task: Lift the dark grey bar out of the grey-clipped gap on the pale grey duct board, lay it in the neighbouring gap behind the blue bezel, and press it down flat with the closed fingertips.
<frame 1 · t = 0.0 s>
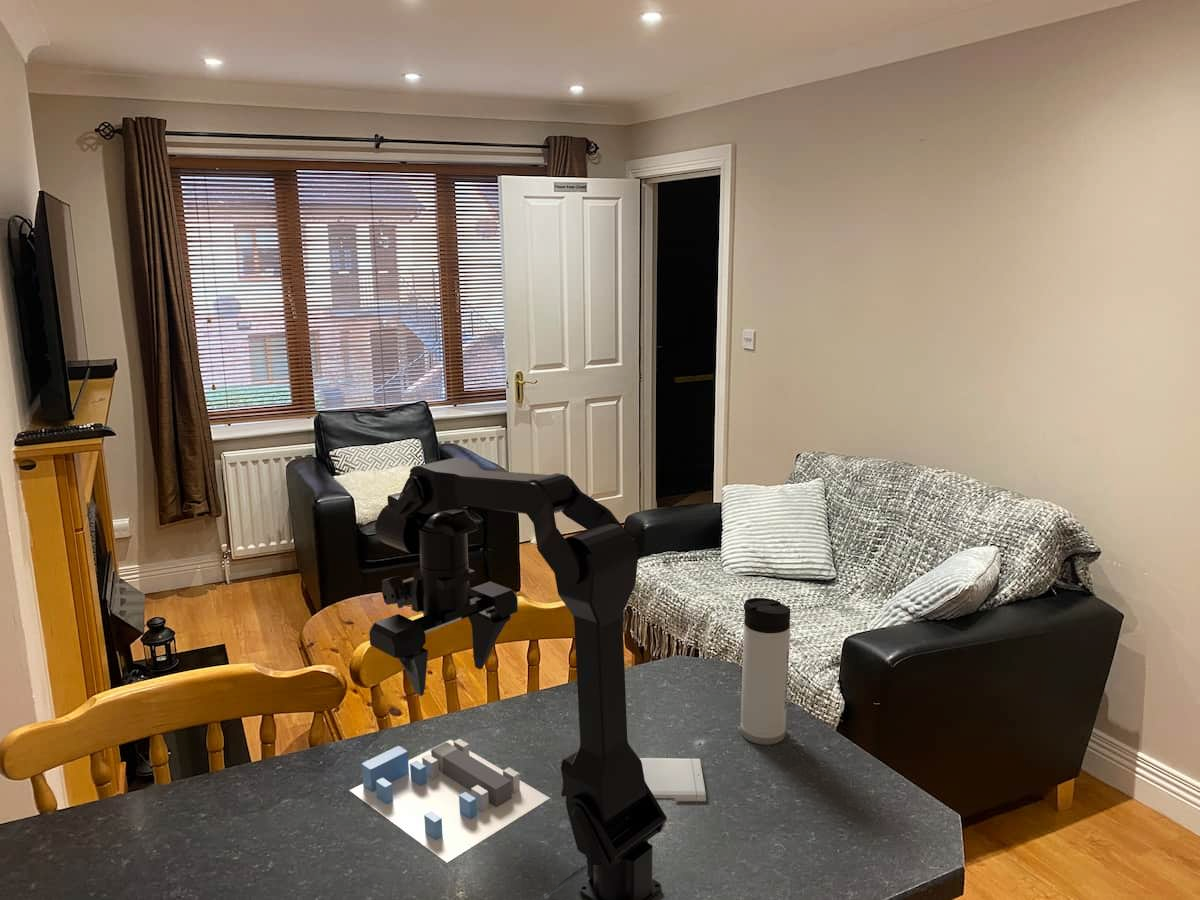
hand: (450, 681, 109), 15 cm above the table, tool pointing down, fingers open, 9 cm apart
travel mug: (761, 735, 124), on the table
duct board: (449, 796, 110), on the table
hard drive: (654, 786, 114), on the table
dark grey bar: (470, 781, 113), resting on duct board
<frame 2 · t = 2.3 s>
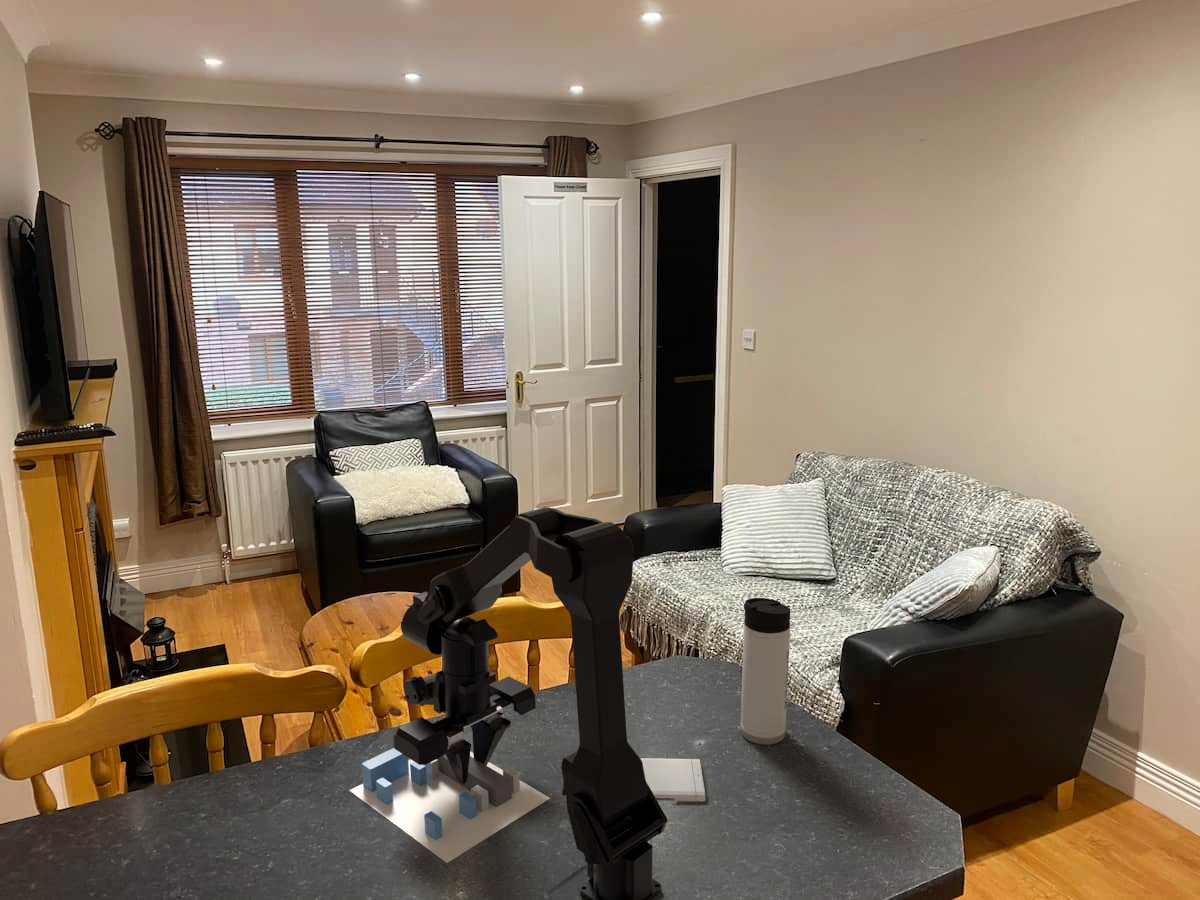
hand: (470, 777, 113), 1 cm above the table, tool pointing down, fingers closed on dark grey bar, 2 cm apart
dark grey bar: (470, 781, 113), resting on duct board, touching gripper
everything else where it was.
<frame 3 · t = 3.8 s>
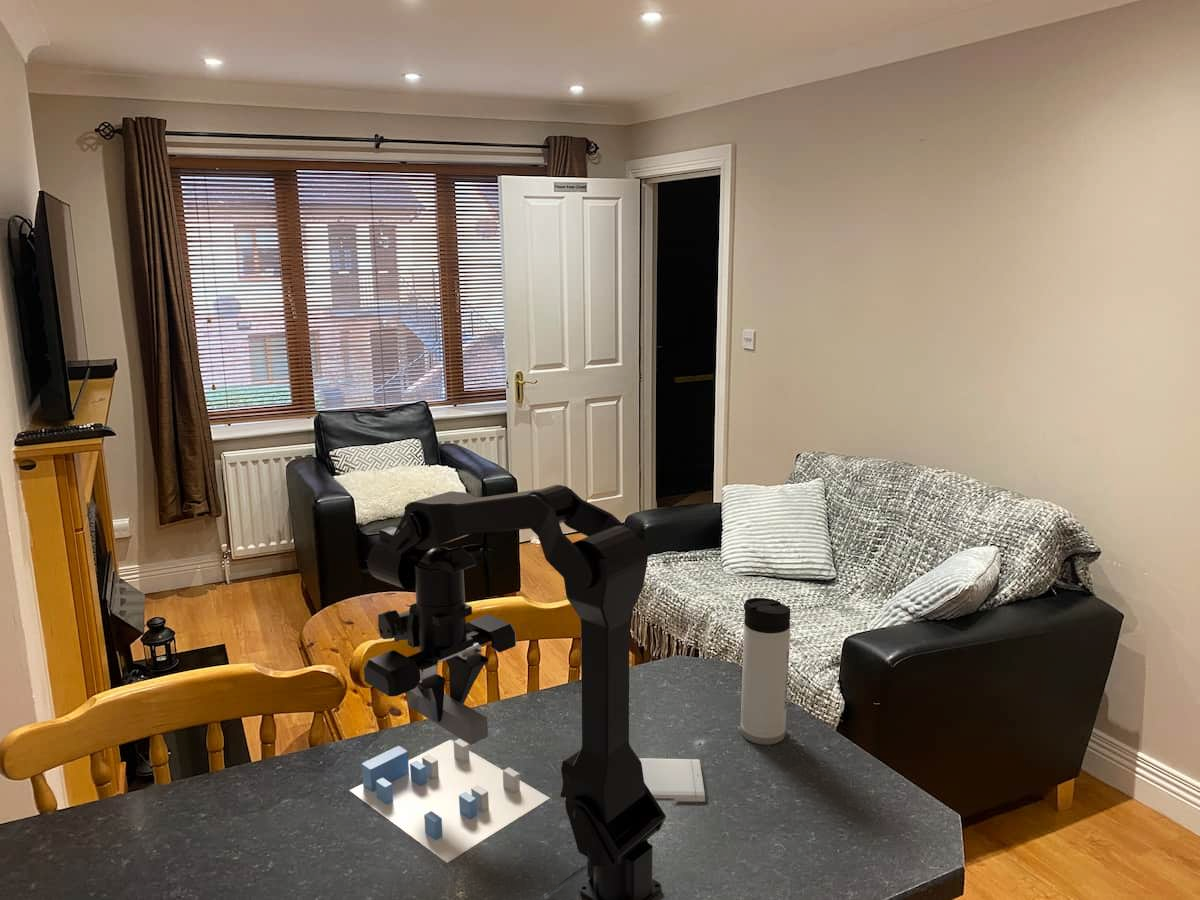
hand: (446, 716, 108), 11 cm above the table, tool pointing down, fingers closed on dark grey bar, 2 cm apart
dark grey bar: (446, 720, 108), point 10 cm above the table, touching gripper
everything else where it was.
when the fingers open (2 cm above the table, at t = 5.4 s): dark grey bar drops 1 cm, resting on duct board.
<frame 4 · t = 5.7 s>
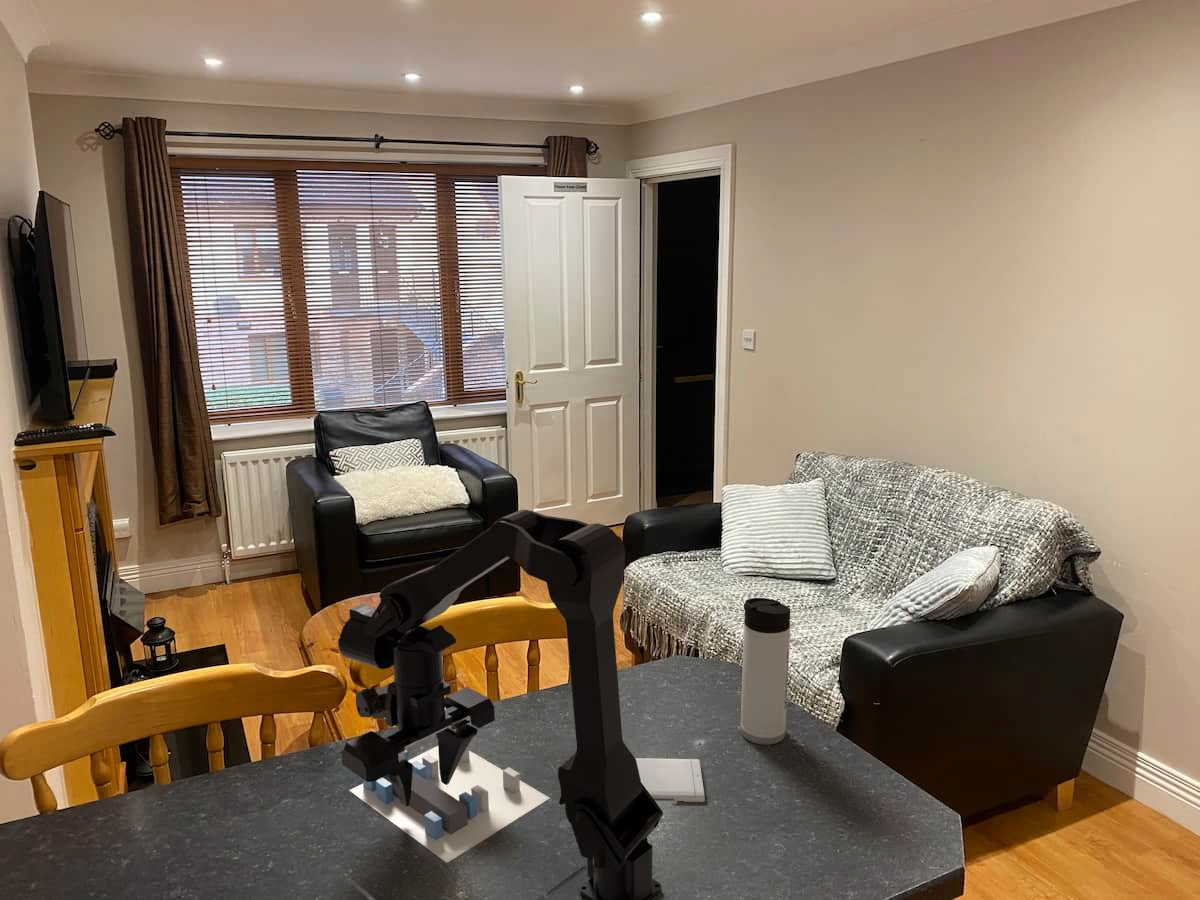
hand: (425, 793, 107), 2 cm above the table, tool pointing down, fingers open, 6 cm apart
dark grey bar: (425, 806, 108), resting on duct board
everything else where it was.
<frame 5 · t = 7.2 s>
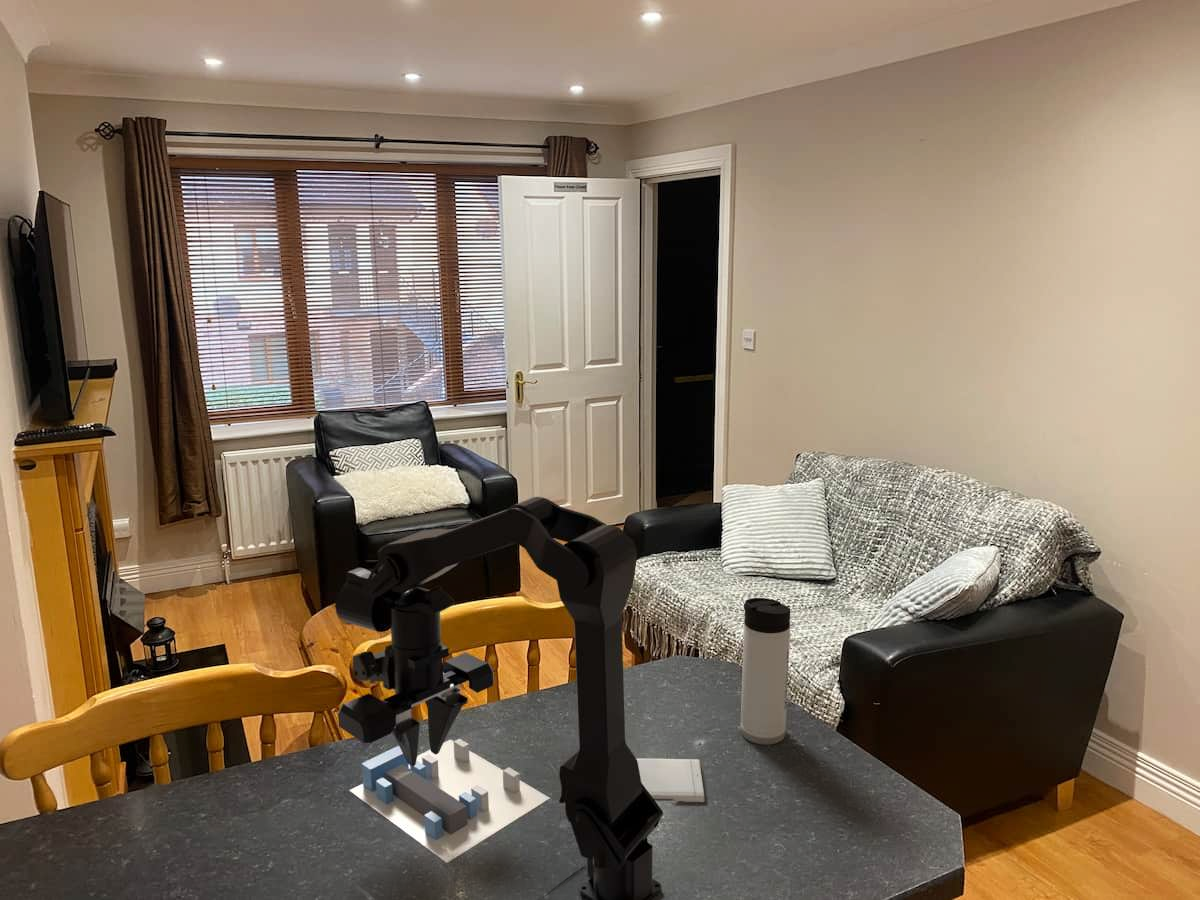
hand: (423, 758, 106), 7 cm above the table, tool pointing down, fingers open, 3 cm apart
nothing on the table moved.
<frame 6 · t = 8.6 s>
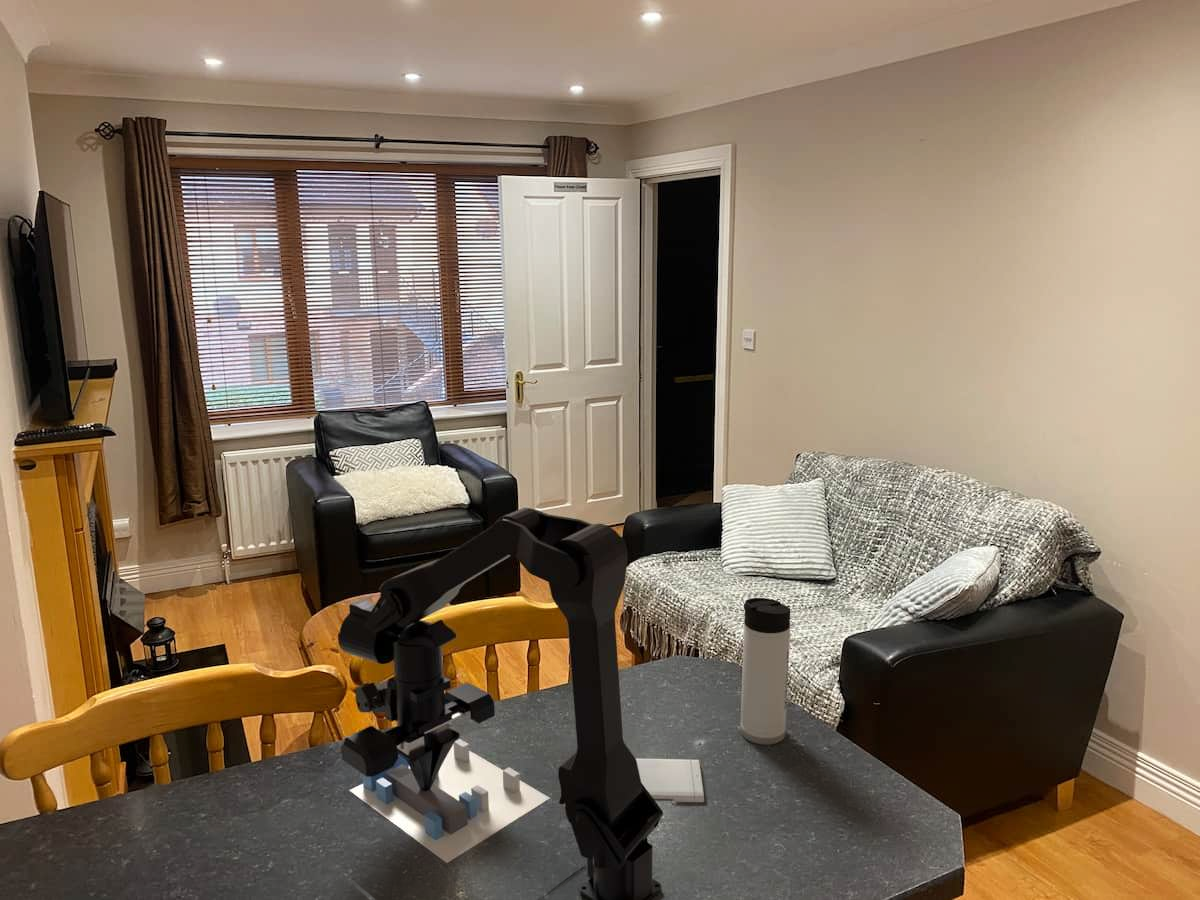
hand: (425, 789, 107), 3 cm above the table, tool pointing down, fingers closed, pressing on dark grey bar
dark grey bar: (425, 806, 108), resting on duct board, touching gripper
everything else where it was.
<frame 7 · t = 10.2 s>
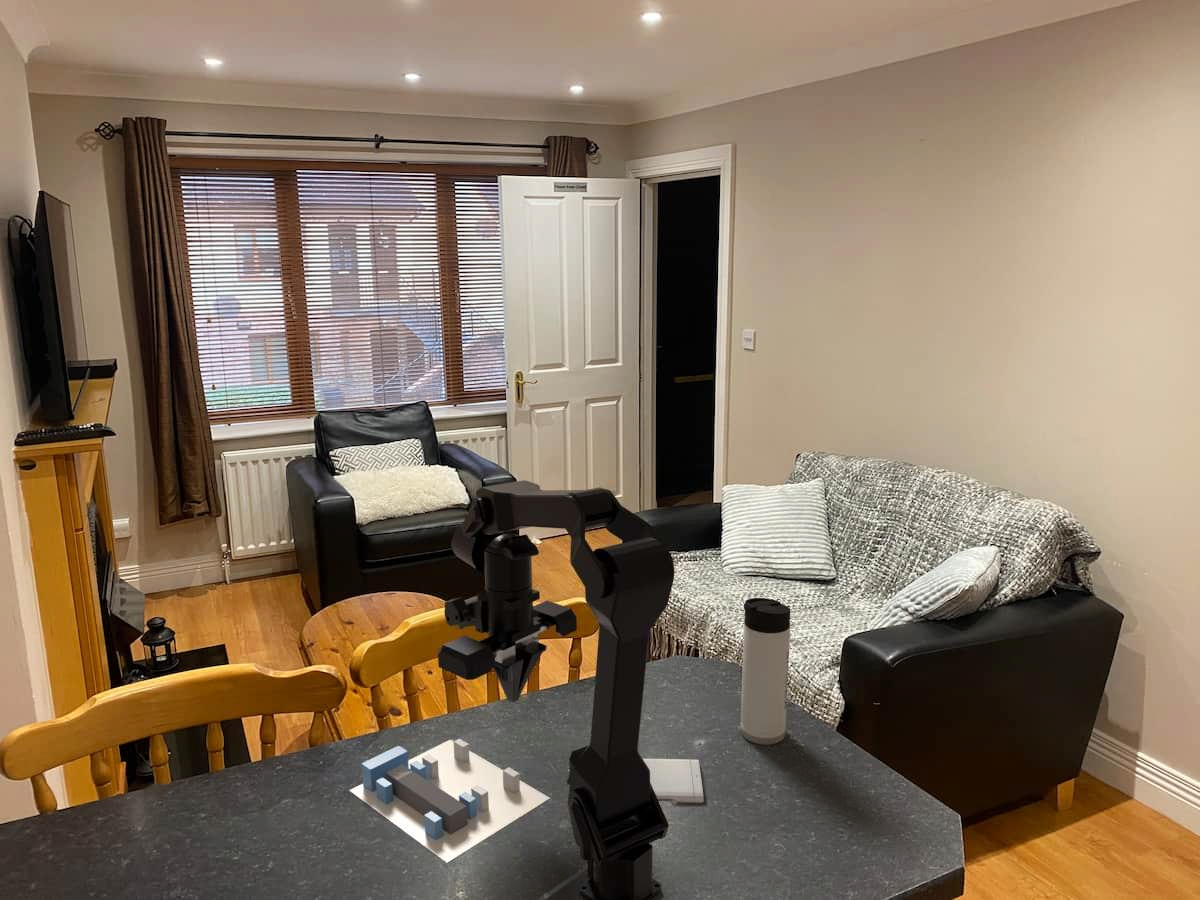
hand: (512, 700, 110), 12 cm above the table, tool pointing down, fingers closed
dark grey bar: (425, 806, 108), resting on duct board
everything else where it was.
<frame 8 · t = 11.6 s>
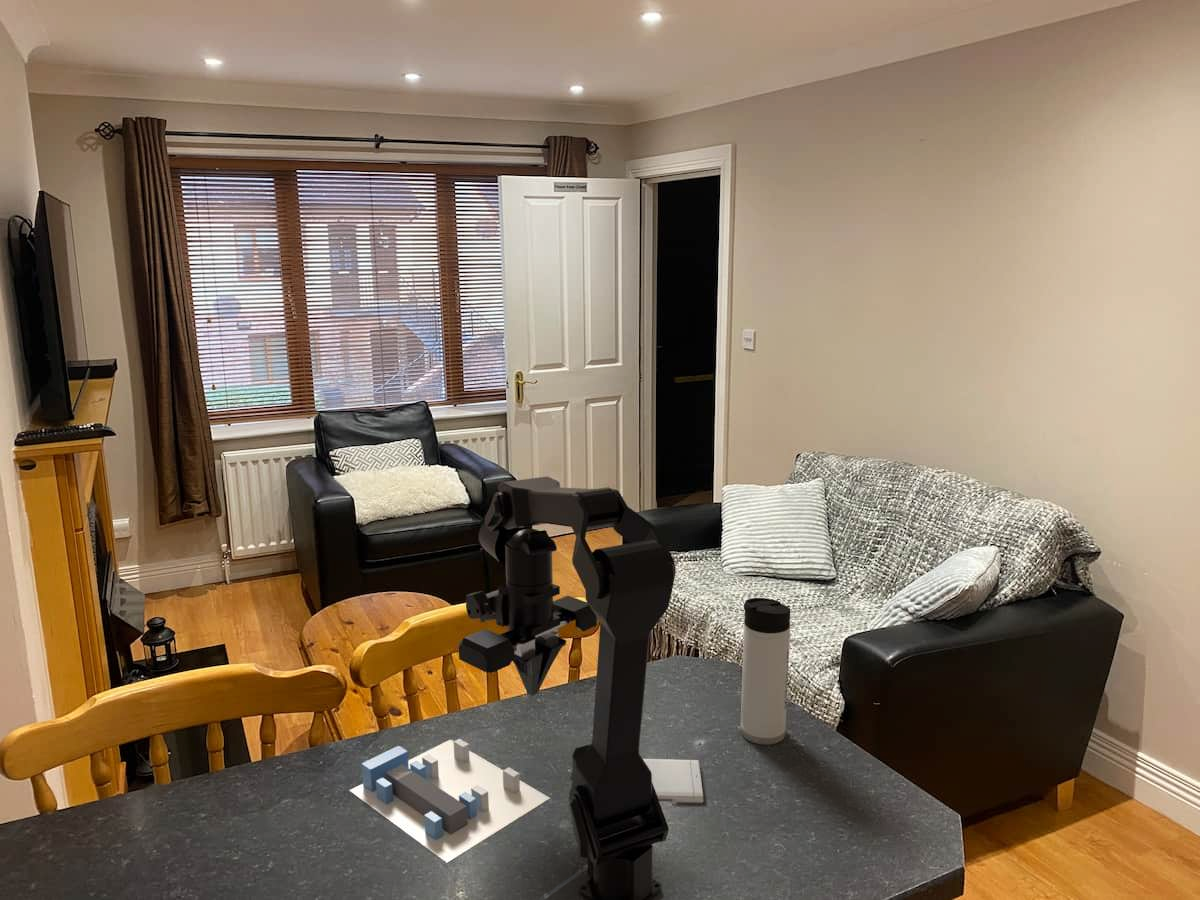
hand: (532, 693, 111), 12 cm above the table, tool pointing down, fingers closed
nothing on the table moved.
at the end: dark grey bar 0.0 cm from the target spot on the duct board, point 0.4 cm above the duct board's base; dark grey bar tilted 0°; the gripper is holding nothing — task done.
